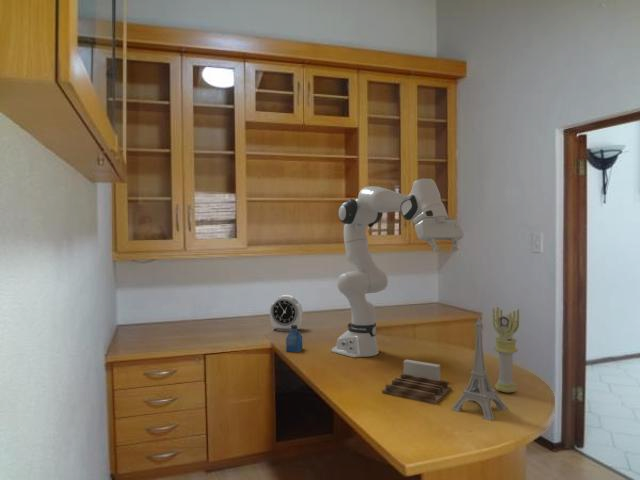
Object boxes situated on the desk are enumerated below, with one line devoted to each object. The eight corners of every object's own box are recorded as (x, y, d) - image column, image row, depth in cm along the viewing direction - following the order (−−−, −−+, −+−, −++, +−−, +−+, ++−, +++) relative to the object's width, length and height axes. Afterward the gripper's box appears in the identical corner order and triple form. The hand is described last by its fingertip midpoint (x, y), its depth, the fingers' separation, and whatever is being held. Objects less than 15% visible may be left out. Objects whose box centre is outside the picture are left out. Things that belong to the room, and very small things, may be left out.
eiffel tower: (507, 408, 151) (507, 317, 150) (491, 421, 141) (491, 324, 140) (468, 398, 160) (468, 312, 159) (450, 410, 150) (450, 318, 149)
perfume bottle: (302, 348, 225) (302, 324, 225) (298, 352, 219) (298, 327, 219) (290, 348, 227) (290, 323, 226) (286, 351, 221) (285, 326, 220)
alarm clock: (269, 331, 263) (268, 296, 263) (274, 327, 272) (273, 293, 271) (299, 332, 259) (298, 296, 258) (303, 329, 267) (302, 294, 267)
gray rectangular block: (403, 376, 183) (403, 361, 183) (406, 374, 186) (406, 359, 186) (437, 382, 176) (437, 366, 176) (440, 380, 178) (440, 364, 178)
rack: (382, 392, 165) (382, 384, 165) (400, 380, 178) (400, 372, 178) (436, 404, 154) (436, 395, 154) (451, 389, 167) (451, 381, 167)
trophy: (489, 390, 166) (490, 308, 165) (499, 385, 171) (499, 305, 170) (512, 396, 160) (512, 311, 159) (521, 391, 165) (521, 308, 164)
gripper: (449, 220, 179) (460, 253, 174) (409, 220, 168) (420, 254, 163) (460, 213, 174) (472, 246, 169) (420, 212, 163) (431, 247, 158)
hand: (446, 250), depth 166 cm, fingers open, 8 cm apart
